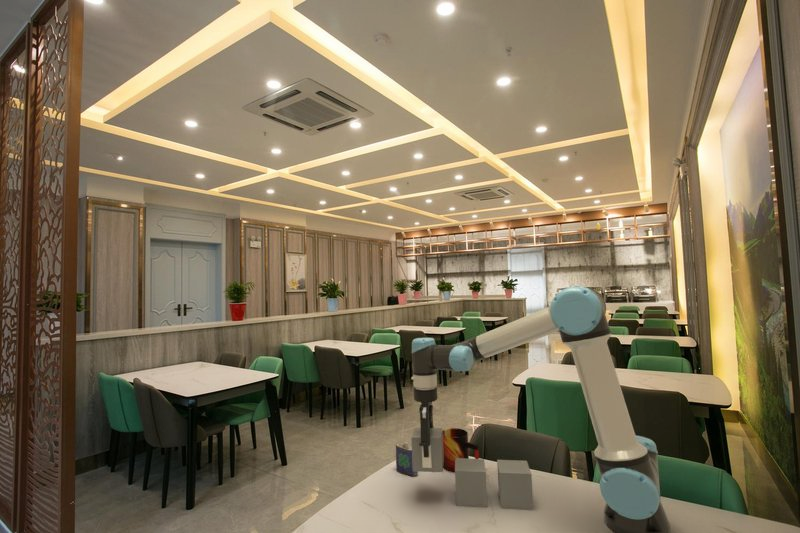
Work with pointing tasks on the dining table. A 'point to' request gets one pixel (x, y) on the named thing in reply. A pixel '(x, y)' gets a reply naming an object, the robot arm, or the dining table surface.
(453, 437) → the mug
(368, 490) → the dining table surface
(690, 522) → the dining table surface
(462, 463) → the pale gray cube
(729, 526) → the dining table surface
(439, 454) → the large plain grey block
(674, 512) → the dining table surface
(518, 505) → the pale grey cube
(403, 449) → the flask
